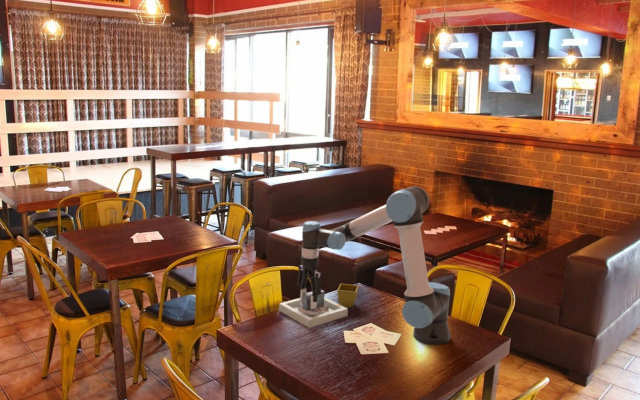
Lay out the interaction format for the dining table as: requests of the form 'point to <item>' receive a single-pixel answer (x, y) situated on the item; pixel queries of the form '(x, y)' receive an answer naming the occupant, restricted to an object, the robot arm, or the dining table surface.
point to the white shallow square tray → (310, 321)
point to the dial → (306, 305)
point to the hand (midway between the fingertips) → (308, 305)
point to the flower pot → (347, 295)
